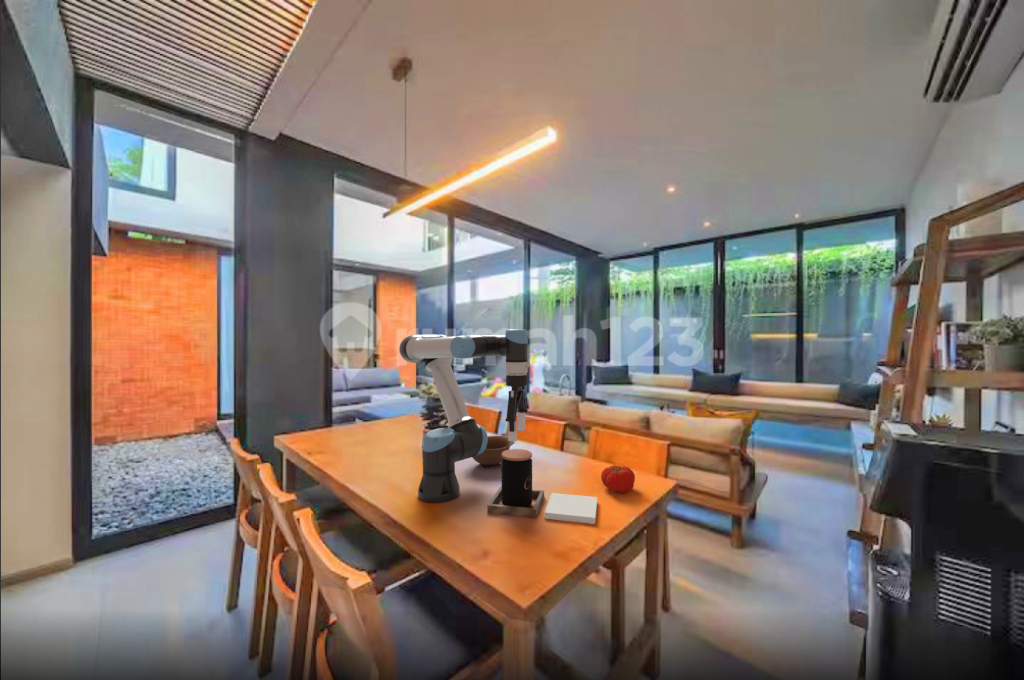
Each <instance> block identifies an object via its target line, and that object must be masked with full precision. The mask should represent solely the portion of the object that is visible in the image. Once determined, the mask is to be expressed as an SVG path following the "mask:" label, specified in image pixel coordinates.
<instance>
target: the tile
mask: <svg viewBox="0 0 1024 680" xmlns="http://www.w3.org/2000/svg"><path fill="white" fill-rule="evenodd" d="M597 508H598V497H597V496H590V495H589V496H588V495H578V494H567V493H556V492H551V494H550V497H549V500H548V501H547V506H546V507H545V510H544V519H545V520H553V521H555V520H557V521H561V522H562V521H563V522H573V523H582V524H589V525H590V524H591V525H596V522H597V521H596V520H597V512H598V511H597V510H598V509H597Z"/></svg>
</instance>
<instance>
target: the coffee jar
mask: <svg viewBox="0 0 1024 680" xmlns="http://www.w3.org/2000/svg"><path fill="white" fill-rule="evenodd" d="M502 457H503V459H502V462H501V487H502V497H501V503H502V504H501V505H506V506H515V507H525V508H531V506H532V504H533V498H532V489H533V459H532V457H533V453H532V451H530V450H529V449H523V448H522V449H521V448H510V449H509V450H506V451H503V452H502Z"/></svg>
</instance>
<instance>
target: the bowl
mask: <svg viewBox="0 0 1024 680" xmlns="http://www.w3.org/2000/svg"><path fill="white" fill-rule="evenodd" d="M487 437H488V442H487V446H486V449H485V450H484V452H483V453H481V454H479V455H477V456H475V457H472V459H473V460H474V461H475V462H476V463H478V464H479V466H480V467H481V468H483V469H495V468H498V467H500V465H501V464H502V459H503V457H502V452H503V451H506V450H510V449H511V447H512V446H513V445H514V444H515V441H508V436H506V435H489V436H488V435H487Z"/></svg>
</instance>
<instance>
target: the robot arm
mask: <svg viewBox="0 0 1024 680" xmlns="http://www.w3.org/2000/svg"><path fill="white" fill-rule="evenodd" d="M528 345H529V340H528V332H527V330H526V329H523V328H522V329H517V328H513V329H511V328H510V329H506V330H505V334H494V333H493V334H479V335H478V334H477V335H469V334H468V335H466V334H464V335H455V336H448V335H445V334H439V333H434V334H433V333H432V334H411V335H408V336H406V337H404V339H402V340H401V342H400V344H399V348H398V349H399V354H400V356H401V358H403V360H405V361H406V362H408V363H411V364H419V363H420V364H421V363H423V364H424V367H425V369H426V370H427V371H429V372H430V373H431V376H432V378H433V381H434V385H435V388H436V391H437V393H438V395H439V399H440V402H441V404H442V407H443V410H444V412H445V416H446V419H447V421H448V427H440V428H439V427H438V428H434V429H431V430H429V431H427V432H426V433H425V434H424V435H423V437H422V445H421V449H422V477H421V480H420V483H419V485H418V489H417V497H418V499H420V500H421V501H423V502H426V503H427V502H428V503H444V502H449V501H451V500H455V499H457V498H458V497H459V496H460V493H461V491H460V489H461V488H460V487H461V486H460V484H459V481H458V478H457V475H456V472H455V471H456V466H455V465H456V464H455V463H457V462H460V461H463V460H467V459H470V458H473V457H475V456H477V455H479V454H481V453H483V452H484V450H485V449H486V446H487V442H488V437H487V436H488V433H487V430H486V428H485V427H484V426H482V425H481V424H478V423H477V421H476V419H475V418H474V417H471V416H470V414H469V411H468V408H467V406H466V403H465V401H464V398H463V395H462V391H461V390H460V386H459V384H458V381H457V379H456V376H455V373H454V370H453V368H452V365H451V363H453V359H462V360H463V359H470V358H481V357H482V358H483V357H484V358H485V357H505V373H506V376H505V385H506V386H507V387H511V389H510V390H508V398H507V400H508V401H507V409H506V418H505V422H507V425H508V426H507V428H508V429H507V434H508V435H507V437H508V441H514V442H517V441H518V435H517V434H518V432H525V431H526V413H528V408H527V401H526V400H527V399H526V393H525V390H526V388H525V387H526V386H528V384H529V382H528V379H529V377H528V376H529V375H528V368H530V365H529V364H528V359H529V358H528V349H529V348H528V347H529V346H528Z"/></svg>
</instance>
